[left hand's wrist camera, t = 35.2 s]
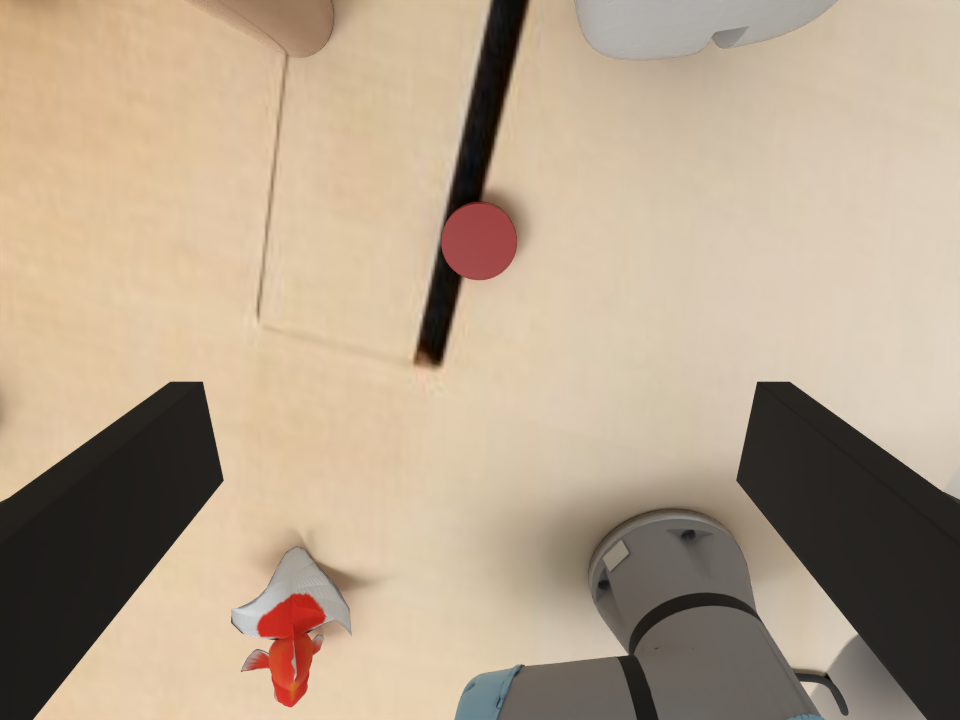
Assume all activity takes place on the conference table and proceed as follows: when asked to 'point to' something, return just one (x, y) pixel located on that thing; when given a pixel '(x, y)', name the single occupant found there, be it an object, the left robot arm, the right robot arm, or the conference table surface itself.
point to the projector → (687, 24)
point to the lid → (479, 241)
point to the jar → (277, 22)
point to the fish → (291, 622)
